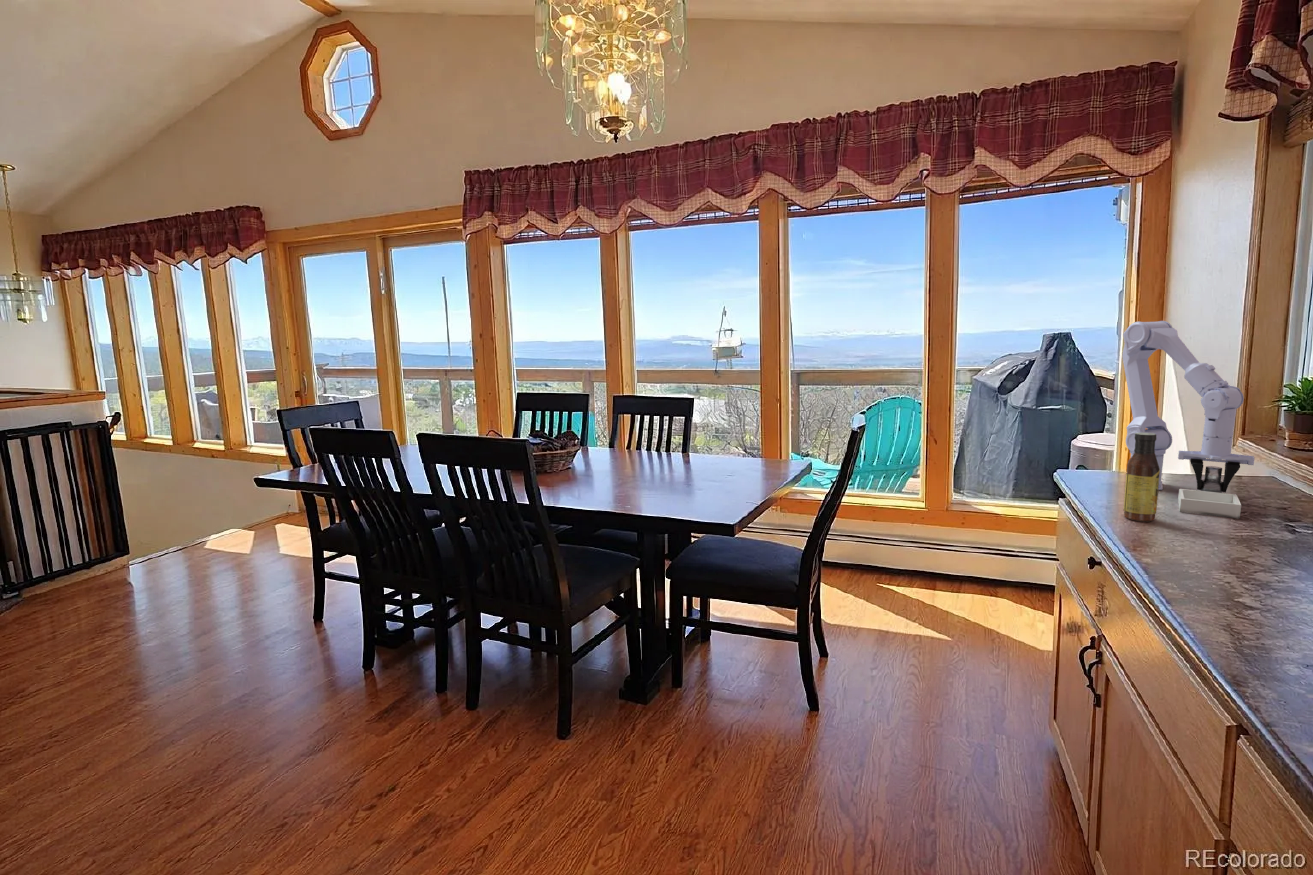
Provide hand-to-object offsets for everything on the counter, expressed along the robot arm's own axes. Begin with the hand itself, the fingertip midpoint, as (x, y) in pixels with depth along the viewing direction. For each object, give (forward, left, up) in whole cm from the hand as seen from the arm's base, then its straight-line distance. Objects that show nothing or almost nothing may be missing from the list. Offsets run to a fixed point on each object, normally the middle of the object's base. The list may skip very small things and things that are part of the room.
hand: (1211, 490), depth 174 cm
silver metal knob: (0, 0, -1) cm, 1 cm away
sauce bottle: (+26, -14, -3) cm, 29 cm away
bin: (+9, -1, -3) cm, 9 cm away
